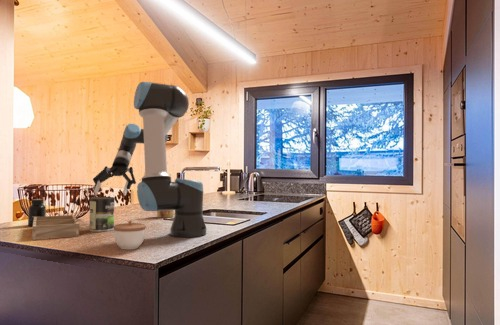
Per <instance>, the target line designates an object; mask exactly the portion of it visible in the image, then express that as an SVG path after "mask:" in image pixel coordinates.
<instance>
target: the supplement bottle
mask: <svg viewBox="0 0 500 325" xmlns="http://www.w3.org/2000/svg"><path fill="white" fill-rule="evenodd" d="M30 204H31V205H29V207H28V215H27V221H28V222H27V226H28V227H33V221H34V217H46V209H47V208H46V205H44V204H45V203H44V199H43V198H34V199H31V203H30Z"/></svg>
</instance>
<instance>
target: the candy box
mask: <svg viewBox="0 0 500 325" xmlns="http://www.w3.org/2000/svg"><path fill="white" fill-rule="evenodd" d="M174 215H175V210H164V211H156V218H174Z"/></svg>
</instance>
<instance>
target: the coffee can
mask: <svg viewBox="0 0 500 325" xmlns="http://www.w3.org/2000/svg"><path fill="white" fill-rule="evenodd" d="M115 202H116V200H115V197H114V196H113V197H112V196H93V197H90V198H89V228H88V229H89V231H90V232H94V233H96V232H97V233H98V232H99V233H101V232H104V233H105V232H111V231H114V226H115Z"/></svg>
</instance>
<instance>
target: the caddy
mask: <svg viewBox="0 0 500 325" xmlns="http://www.w3.org/2000/svg"><path fill="white" fill-rule="evenodd" d="M31 235H32V237H31V238H32V239H31V240H33V241H34V240H45V239H46V240H47V239H49V238H50V239H61V238H72V237H80V222H79V221H78V218H77V217H76V216H75V214H71V215H70V214H67V215H66V214H65V215H50V216H46V215H45V217H34V221H33V226H32V232H31Z"/></svg>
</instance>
